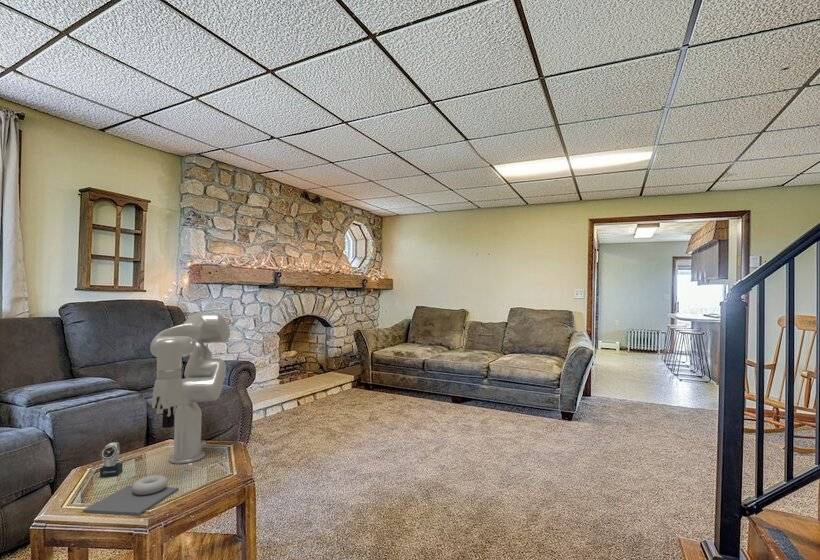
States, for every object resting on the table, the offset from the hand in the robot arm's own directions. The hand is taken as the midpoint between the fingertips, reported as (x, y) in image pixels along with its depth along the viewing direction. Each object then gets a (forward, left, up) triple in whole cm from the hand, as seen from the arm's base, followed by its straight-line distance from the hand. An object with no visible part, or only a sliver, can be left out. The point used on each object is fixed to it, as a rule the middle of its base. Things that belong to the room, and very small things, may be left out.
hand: (168, 426), depth 147 cm
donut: (+4, 0, -16) cm, 16 cm away
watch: (-3, -24, -19) cm, 30 cm away
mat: (+15, 0, -18) cm, 24 cm away
